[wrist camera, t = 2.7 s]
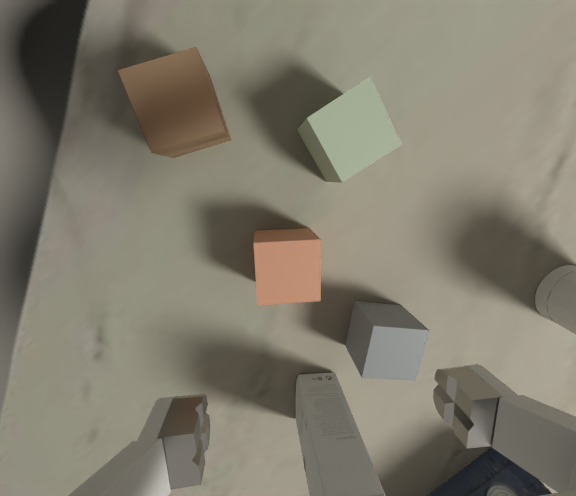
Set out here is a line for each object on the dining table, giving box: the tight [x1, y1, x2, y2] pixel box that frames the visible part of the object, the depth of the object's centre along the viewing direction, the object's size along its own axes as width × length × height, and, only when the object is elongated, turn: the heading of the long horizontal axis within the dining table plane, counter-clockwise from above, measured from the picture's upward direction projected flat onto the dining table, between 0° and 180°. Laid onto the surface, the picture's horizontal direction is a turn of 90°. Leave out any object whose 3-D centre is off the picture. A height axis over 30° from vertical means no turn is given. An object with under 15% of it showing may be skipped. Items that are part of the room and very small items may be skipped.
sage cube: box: [297, 76, 402, 183], centre depth 22 cm, size 5×5×5 cm
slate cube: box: [345, 301, 429, 381], centre depth 27 cm, size 5×5×5 cm
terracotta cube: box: [253, 228, 321, 305], centre depth 24 cm, size 5×5×5 cm
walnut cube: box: [118, 47, 231, 158], centre depth 20 cm, size 5×5×5 cm
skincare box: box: [296, 373, 385, 496], centre depth 25 cm, size 6×4×12 cm
